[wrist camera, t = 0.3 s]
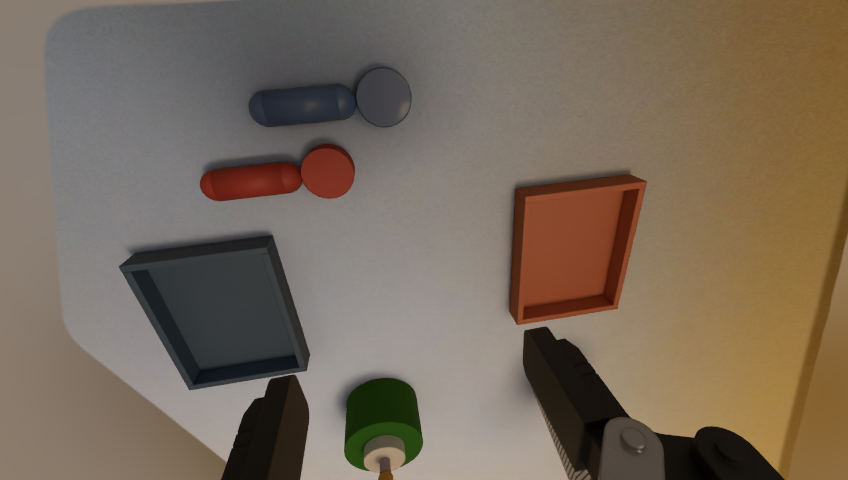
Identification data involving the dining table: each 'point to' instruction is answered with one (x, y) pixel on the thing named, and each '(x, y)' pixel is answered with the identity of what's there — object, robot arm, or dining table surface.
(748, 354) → the dining table surface
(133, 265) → the dark grey tray
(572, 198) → the red tray
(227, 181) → the red spoon
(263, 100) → the blue spoon
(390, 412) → the candle
